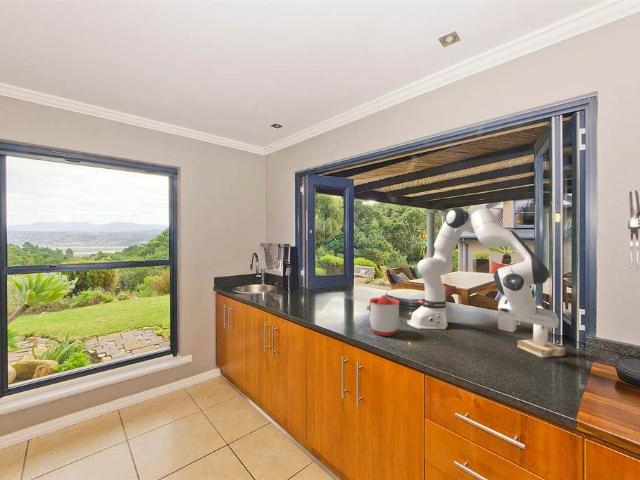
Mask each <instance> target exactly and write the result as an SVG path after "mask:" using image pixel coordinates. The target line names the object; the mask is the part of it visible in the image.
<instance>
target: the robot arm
mask: <svg viewBox="0 0 640 480" xmlns="http://www.w3.org/2000/svg"><path fill="white" fill-rule="evenodd" d="M464 232H469V233H473V234H475V236H476V238H477V240H478V242H479V243H481V244H482V245H483V246H486V247H489V248H503V247H505V248H512V249H513V250H516V252H517V253H518V254H519V255H520V257H521V258H522V259H523V261H520V262H516V263H513V264H511V265H505V266H503V267H499V268H497V269H495V271H494V274H493V280H494V282H495V285H496V286H497V289H498V291H499V293H500V294H502V295H505V296H503V297H502V298H501V300H500V302H499V301H498V305H497V312H498V313H499V315H500V316H501V317H503V318H507V319H511V320H512V321H513V322H515V324H516V326H517V325H518V326H520V325H521V322H523V323H527V324H532V325H533V324H536V325H541V326H542V327H541V329H542V330H545V331H547V328H548V329H549V328H551V329H557V328H559V324H560V320H559V319H560V318H559V317H558V314H557V313H556V312H554V311H553V310H551V309H546V308H541V307H538V306H537V302H536V300H535V298H534V296H533V291H532V290H531V287H530V286H533V285H534V286H535V285H540V284H541V285H542V284H545V283H546V282H547V281H548V280H549V278H550V275H551V274H550V270H549V268H548V266H547V265H546V263H545V262H543V261H542V259H540V258H539V257H538V256H537V255H536V253H534V252H533V251H532V250H531V248H530V247H529V246H528V245H527V243H525V241H524V240H523V239H522V237H520V236H519V234H518V233H516V232H515V231H514V230H508V229H506V228H505V227H503V226H502V224H501V223H500V220H499V219H498V218H497V217H496V215H495V214H494V213H493V212H492V211H491V209H489V208H479V209H477V210H473V209H466V208H462V207H461V208H460V207H453V208H451V209H449V211H448V212H447V213H446V215H445V221H444V223H443V224H442V226H441V228H440V230H439V231H438V234H437V236H436V239H435V241H434V244H433V247H434V254H433V256H432V257H425V258H423V259H420V260H419V261H418V262H417V265H416V268H417V272H418V274H419V275H420V276H421V278H422V280H423V285H424V298H423V300H422V299H418V303H419V304H421V305H420V306H419V307H418V308H417V309H415V310H414V311H412V313H411V316H410V317H411V318H410V319H407V321H406V323H407V324H408V325H409V326H411V327H413V328H415V329H418V330H447V329H446V328H448V326H449V325H448V321H447V314H446V308H447V300H446V286H445V285H444V284H443V281H442V277H441V276H445V275H447V274H449V273H451V272H452V270H453V267H454V264H453V255H454V253H455V250H456V247H457V245H458V243H459V240H460V238H461V237H462V234H463V233H464Z"/></svg>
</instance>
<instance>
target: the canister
mask: <svg viewBox="0 0 640 480" xmlns="http://www.w3.org/2000/svg"><path fill="white" fill-rule="evenodd" d="M532 325H533V328H532V330H533V331H532V339H533V344H535V345H538V346H548V342H549V340H548V339H549V336H548V335H549V327H548V328H547V331H545V330H542V329H541V327H542V326H541V325H536V324H532Z"/></svg>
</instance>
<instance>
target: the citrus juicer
mask: <svg viewBox="0 0 640 480" xmlns="http://www.w3.org/2000/svg"><path fill="white" fill-rule="evenodd" d="M365 310H366V311H368V310H369V323H370V328H371V331H372V333H374V334H375V335H377V336H378V335H379V336H383V337H385V336H387V337H388V336H389V337H390V336H393V335H395V334H396V332H397V330H398V326H399V318H400V312H399V311H400V300H398V299H395V298H390V297H388V296H387V295H385V294H384V295H382V296H380V297H373V298H370V301H369V305H367V306H366V308H365Z"/></svg>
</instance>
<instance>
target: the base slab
mask: <svg viewBox="0 0 640 480" xmlns="http://www.w3.org/2000/svg"><path fill="white" fill-rule="evenodd" d="M517 348H520V349H522V350H524V351H526V352H528V353H530V354H533V355H535V356H537V357H540V358H542V359H544V358H551V357H553V358H554V357H562V356H566V348H565V347H562V346H560V345H557V344H554V343H550V342H549V341H548V346H538V345H535V344H533V338H530V339H529V338H528V339H518V340H517Z"/></svg>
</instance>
